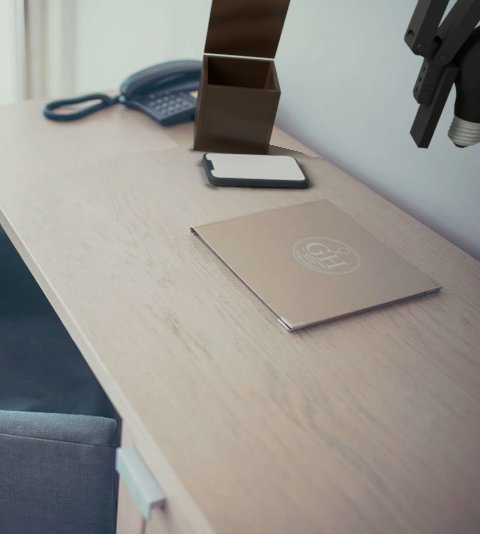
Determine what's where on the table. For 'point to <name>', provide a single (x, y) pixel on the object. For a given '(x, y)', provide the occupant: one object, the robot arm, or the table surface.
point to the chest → (236, 105)
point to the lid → (245, 27)
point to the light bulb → (467, 93)
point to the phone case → (253, 170)
